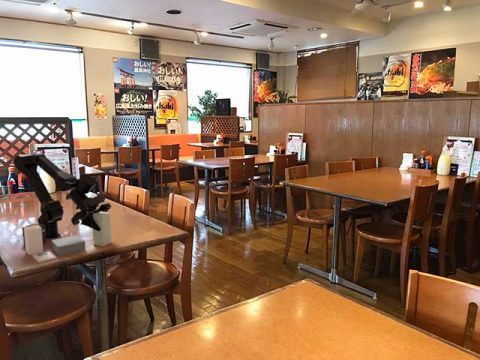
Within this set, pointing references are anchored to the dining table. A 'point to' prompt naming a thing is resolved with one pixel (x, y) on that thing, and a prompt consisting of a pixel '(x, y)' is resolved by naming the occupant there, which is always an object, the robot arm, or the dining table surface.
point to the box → (41, 229)
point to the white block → (33, 239)
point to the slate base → (68, 245)
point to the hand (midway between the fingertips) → (104, 228)
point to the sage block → (102, 229)
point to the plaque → (43, 257)
